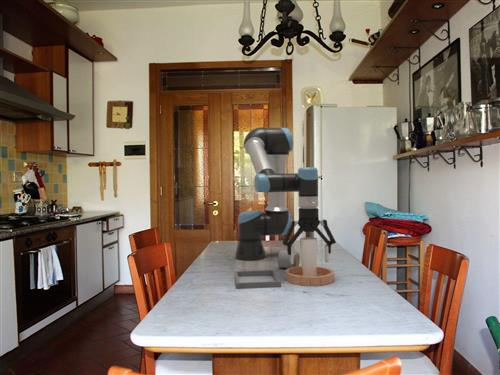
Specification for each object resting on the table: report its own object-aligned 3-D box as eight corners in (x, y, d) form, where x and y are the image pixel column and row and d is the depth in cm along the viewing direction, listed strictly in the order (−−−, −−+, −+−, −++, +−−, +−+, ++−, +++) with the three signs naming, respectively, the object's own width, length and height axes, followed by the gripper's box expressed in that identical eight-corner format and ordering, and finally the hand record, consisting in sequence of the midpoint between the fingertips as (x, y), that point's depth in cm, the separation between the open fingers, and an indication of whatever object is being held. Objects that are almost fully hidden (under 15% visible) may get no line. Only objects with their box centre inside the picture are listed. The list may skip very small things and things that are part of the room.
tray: (234, 275, 150) (234, 271, 150) (274, 274, 151) (274, 270, 151) (236, 288, 132) (236, 283, 132) (281, 286, 133) (281, 281, 133)
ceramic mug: (296, 270, 157) (295, 252, 157) (277, 269, 160) (277, 251, 160) (302, 265, 167) (302, 248, 167) (284, 264, 170) (284, 247, 170)
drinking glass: (299, 275, 146) (298, 237, 146) (316, 274, 147) (315, 237, 147) (302, 280, 140) (301, 240, 140) (320, 279, 140) (319, 239, 140)
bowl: (282, 274, 152) (282, 266, 152) (326, 272, 153) (326, 265, 153) (290, 286, 133) (290, 278, 133) (340, 284, 135) (340, 276, 135)
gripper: (277, 208, 138) (278, 265, 139) (343, 207, 140) (344, 263, 140) (274, 207, 146) (275, 261, 146) (337, 206, 148) (338, 259, 148)
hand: (309, 262), depth 143 cm, fingers open, 13 cm apart
